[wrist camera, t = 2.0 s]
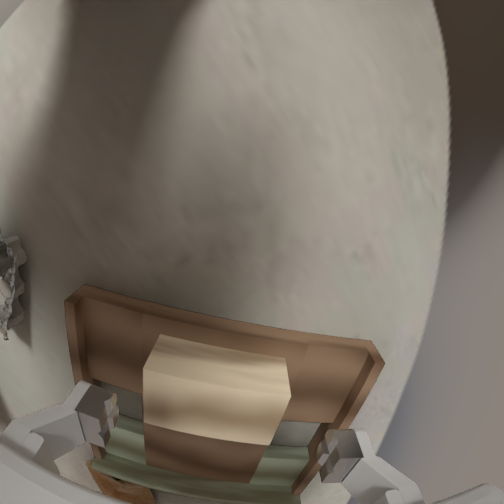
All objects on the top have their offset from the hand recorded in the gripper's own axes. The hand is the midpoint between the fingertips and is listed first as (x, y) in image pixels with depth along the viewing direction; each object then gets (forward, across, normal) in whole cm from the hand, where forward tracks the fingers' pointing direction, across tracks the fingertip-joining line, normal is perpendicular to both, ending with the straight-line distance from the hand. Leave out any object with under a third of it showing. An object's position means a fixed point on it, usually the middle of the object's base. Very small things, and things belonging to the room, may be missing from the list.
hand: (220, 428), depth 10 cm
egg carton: (+14, +25, +5) cm, 29 cm away
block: (+12, 0, +7) cm, 14 cm away
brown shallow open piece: (+14, 0, +15) cm, 21 cm away
